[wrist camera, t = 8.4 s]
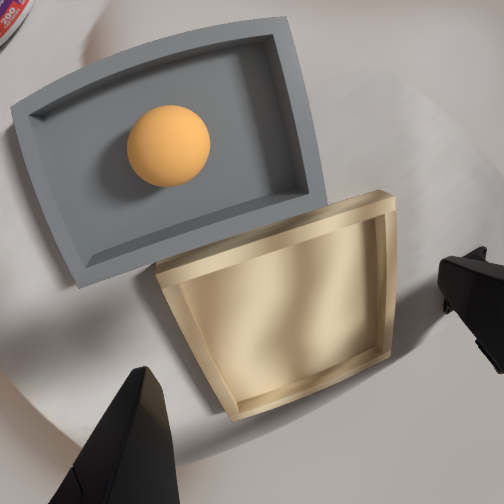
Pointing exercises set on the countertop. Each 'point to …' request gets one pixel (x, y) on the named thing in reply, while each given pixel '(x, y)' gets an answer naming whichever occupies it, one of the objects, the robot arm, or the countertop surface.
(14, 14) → the pill bottle
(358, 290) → the dish
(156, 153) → the ball
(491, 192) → the countertop surface
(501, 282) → the robot arm
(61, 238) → the tray
